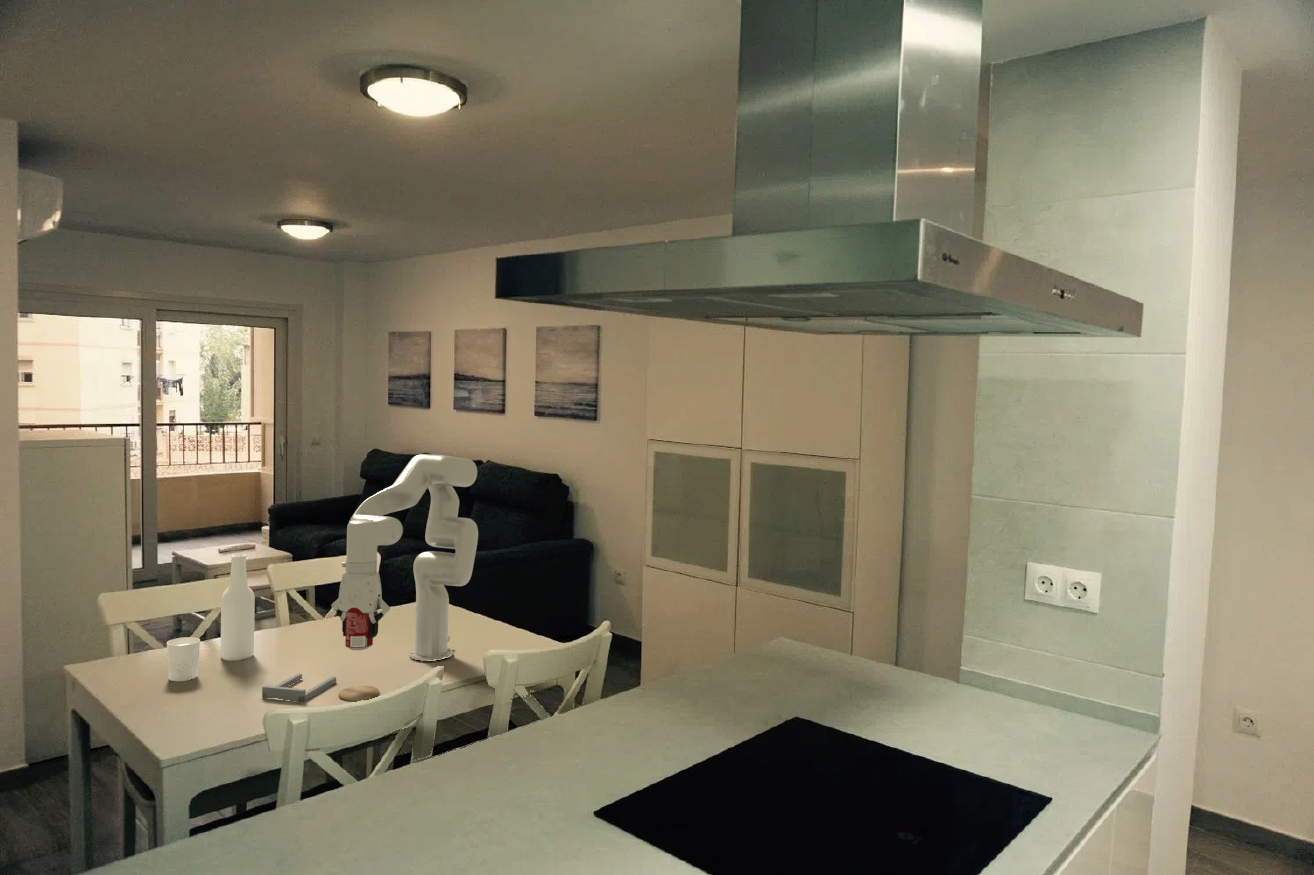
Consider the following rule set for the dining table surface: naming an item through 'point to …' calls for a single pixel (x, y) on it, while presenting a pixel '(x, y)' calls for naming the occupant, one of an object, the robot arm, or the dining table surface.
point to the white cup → (183, 658)
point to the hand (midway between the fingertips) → (360, 635)
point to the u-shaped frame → (294, 689)
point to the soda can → (357, 630)
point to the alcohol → (237, 614)
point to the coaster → (358, 693)
